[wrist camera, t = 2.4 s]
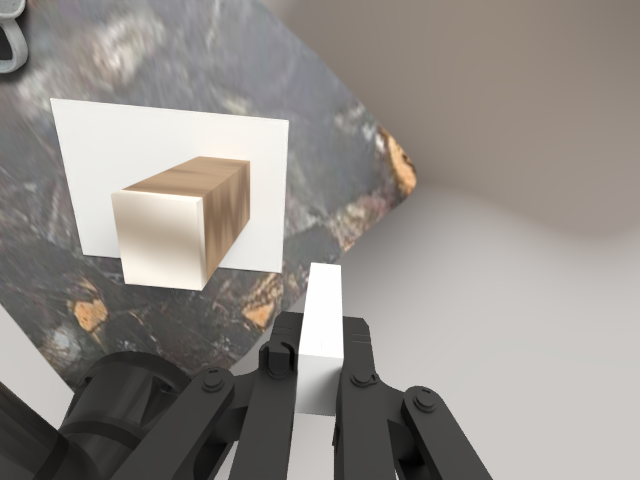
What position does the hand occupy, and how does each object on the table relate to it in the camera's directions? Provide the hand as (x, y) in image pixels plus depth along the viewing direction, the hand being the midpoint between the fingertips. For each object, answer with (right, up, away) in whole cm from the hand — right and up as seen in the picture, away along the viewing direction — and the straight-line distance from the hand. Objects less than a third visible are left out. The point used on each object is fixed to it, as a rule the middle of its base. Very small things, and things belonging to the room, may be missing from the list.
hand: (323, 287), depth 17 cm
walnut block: (-10, +8, +16) cm, 20 cm away
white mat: (-15, +7, +17) cm, 24 cm away
